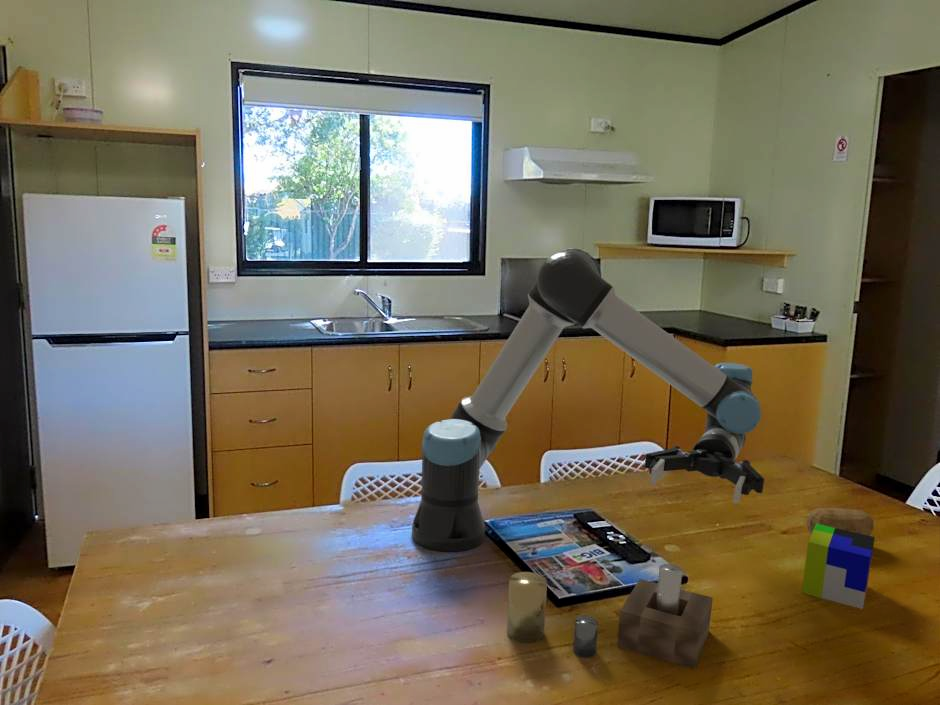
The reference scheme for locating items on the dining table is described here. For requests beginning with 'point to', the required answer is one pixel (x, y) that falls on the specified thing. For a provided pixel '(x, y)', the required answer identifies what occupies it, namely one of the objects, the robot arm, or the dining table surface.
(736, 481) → the robot arm
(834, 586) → the puzzle toy
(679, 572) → the steel roller
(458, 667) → the dining table surface
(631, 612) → the walnut block
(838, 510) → the potato
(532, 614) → the fat brass roller
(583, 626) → the short dark roller
